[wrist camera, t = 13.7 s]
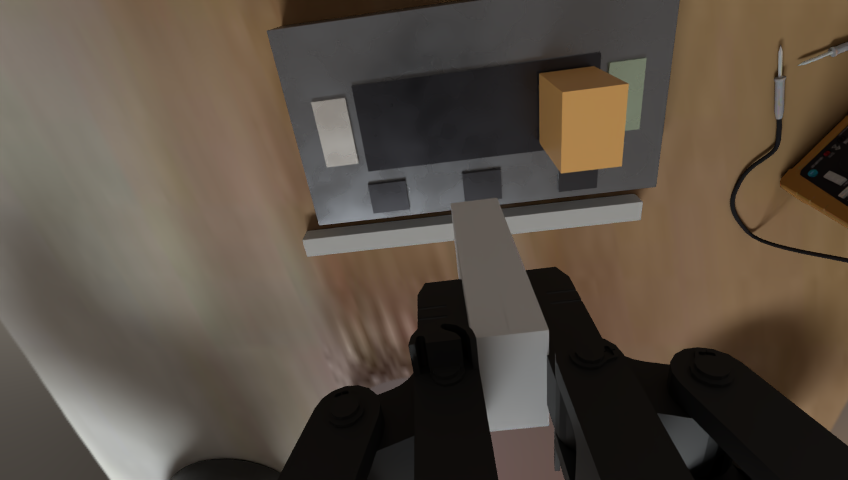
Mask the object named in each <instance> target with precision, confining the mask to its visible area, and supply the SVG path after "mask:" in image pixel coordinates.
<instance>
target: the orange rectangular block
mask: <svg viewBox="0 0 848 480" xmlns="http://www.w3.org/2000/svg"><path fill="white" fill-rule="evenodd" d="M628 88H629V84H628V83H626V82H624V81H622V80H620V79H618V78H617V77H615V76H613V75H611V74H609V73H607V72H605V71H603V70H601V69H599V68H597V67H595V66H591V67H583V68H576V69H568V70H561V71H553V72H546V73H539V142H540V144H541V146H542V147H543V149H544V150H545V152H546V153H547V154H548V156H549V157H550V159H551V160H552V161H553V163H554V164H555V166H556V167H557V169H558V170H559V171H560V173H569V172H578V171H586V170H595V169H603V168H612V167H620V166H622V158H623V147H624V135H625V123H626V112H627V100H628Z"/></svg>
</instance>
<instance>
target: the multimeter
mask: <svg viewBox="0 0 848 480" xmlns="http://www.w3.org/2000/svg"><path fill="white" fill-rule="evenodd" d="M847 50H848V42H846V43H843V44H841V45H838V46H836V47H830V48H829V51H828V52H827V53H824V54H822V55H819V56H817V57H814V58H812V59H809V60H807V61H804V62H802V63H801V64H799V65H805V64H807V63H810V62H813V61H815V60H818V59H820V58H823V57H825V56H828V55H830V56H831V57H834V56H836V55H837V54H839V53H842V52H844V51H847ZM782 56H783V51H782V47H781V46H780V49H779V57H778V77H775V78H774V81H775V117H776V119H777V133H776V143H775V146H774V148H773V149H772V150H771V151H770V152H769V153H768V154H766V155H765V156H764V157H762V158H761V159H759V160H758V161H756V162H755V163H753V164H752V165H751V166H750V167H749V168H748V169H746V171H745V172H744V173H743V174H742V175H741V177H740V178H739V180H738V182H737V184H736V186H735V188H734V190H733V192H732V195H731V199H730V206H731V211H732V214H733V216H734V218H735V220H736V221H737V222H738V224H739V225H740V227H741V228H742V229H743V230H744V231H745V232H746V233H747V234H748V235H749V236H751V237H752V238H754V239H756V240H758V241H760V242H762V243H765V244H768V245H770V246H773V247H777V248H781V249H784V250H788V251H793V252H797V253H802V254H806V255H811V256H817V257H822V258H827V259H832V260H837V261H842V262H847V263H848V258H843V257H838V256H832V255H827V254H822V253H816V252H811V251H805V250H801V249H796V248H791V247H787V246H783V245H779V244H775V243H772V242H769V241H766V240H763V239H761V238H759V237H757V236H755V235H753V234H752V233H751V232H750V231H749V230H748V229H747V228H746V227H745V226H744V224H743V223H742V222H741V220H740V219H739V217H738V215H737V213H736V210H735V204H734V203H735V196H736V194H737V191H738V189H739V187H740V185H741V183H742V181H743V180H744V178H745V177H746V175H747V174H748V173H749V172H750V171H751V170H752V169H753V168H755V167H756V166H757V165H759V164H760V163H762V162H763V161H764V160H766V159H767V158H769V157H770V156H771V155H773V154H774V153H775V152H776V151H777V149H778V147H779V145H780V141H781V130H782V117H783V112H784V89H785V79H786V76H782ZM799 65H798V66H799ZM780 187H782V188H783V189H784V190H786V191H787V192H789V193H790V194H791V195H793V196H794V197H796V198H797V199H799V200H800V201H802V202H803V203H805V204H808V205H810V206H812V207H813V208H815V209H817V210H818V211H820V212H821V213H823V214H825V215H826V216H828V217H830V218H831V219H833V220H835V221H836V222H838V223H840V224H841V225H843V226H844V227H846V228H848V115H847V116H846V117H845V118H844V119H843V120H842V121H841V122H840V123H839V124H838V125H837V126H836V127H835V128H834V129H833V130H832V131H831V132H830V133H829V134H827V135H826V136H825V137H824V138H823V139H822V140H821V141H820V142H819V143H818V144H817V145H816V146H815V147H814V148H813V149H812V150H811V151H810V152H809V153H808V154H807V155H806V156H805V157H804V158H803V159H802V160H801V161H800V162H799V163H798V164H797V165H796V166H795V167H794V168H793V169H789V170H788V171H787V172H786V174H785V175H784V176H783V177H782V178H781V180H780Z"/></svg>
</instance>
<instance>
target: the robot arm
mask: <svg viewBox="0 0 848 480" xmlns="http://www.w3.org/2000/svg"><path fill="white" fill-rule="evenodd" d="M450 204H451V213H452V222H453V231H454V240H455V249H456V258H457V267H458V276H459V279H458V280H449V281H440V282H432V283H425V284H424V286H423V287H422V289H421V291H420V292H419V294H418V329H417V330H416V331H415V332H414V334H413V335H412V336H411V338H410V342H409V350H410V356H411V361H412V366H413V372H414V373H413V374H412V375H411V377H410V378H409V379H408V380H407V381H405V382H404V383H403V384H401V385H400V386H398V387H396V388H394V389H392V390H389V391H387V392H384V393H382V394H379V395H377V394H375V393H374V392H373V391H371V390H370V389H369V388H366V387H362V386H358V385H357V386H345V387H342V388H340V389H337V390H334V391H332V392H331V393H330V394H328V395H327V396H325V397H324V398H323V399H322V400H321V401H320V402H319V404H318V405H317V406H316V408H315V409H314V411H313V413H312V415H311V417H310V419H309V420H308V422H307V424H306V426H305V428H304V430H303V432H302V434H301V436H300V438H299V440H298V441H297V443H296V445H295V447H294V449H293V451H292V453H291V455H290V457H289V459H288V460H287V462H286V464H285V466H284V468H283V470H282V472H281V474H280V473H278V472H276V471H274V470H272V469H270V468H267V467H265V466H262V465H259V464H255V463H251V462H247V461H241V460H231V459H216V460H207V461H202V462H198V463H194V464H192V465H189V466H187V467H185V468H183V469H182V470H180V471H179V472H177V473H176V474H175V475H174V476H173V478H172V479H171V480H498V475H497V470H496V464H495V458H494V452H493V446H492V440H491V435H490V432H491V431H501V430H511V429H520V428H531V427H541V426H549V413H550V416H551V419H552V422H553V425H554V428H555V432H554V434H555V435H554V438H555V439H554V465H555V471H560V466H561V469H562V472H563V475H564V479H565V480H848V446H847V445H846V444H845V443H843V442H842V441H841V440H840V439H838V438H837V437H836V436H834V435H833V434H832V433H831V432H829V431H828V430H827V429H826V428H824V427H823V426H822V425H821V424H819V423H818V422H817V421H815V420H814V419H813V418H812V417H810V416H809V415H808V414H807V413H805V412H804V411H803V410H801V409H800V408H799V407H798V406H796V405H795V404H794V403H793V402H791V401H790V400H789V399H787V398H786V397H785V396H784V395H782V394H781V393H780V392H779V391H777V390H776V389H775V388H773V387H772V386H771V385H770V384H768V383H767V382H766V381H764V380H763V379H762V378H761V377H759V376H758V375H757V374H756V373H754V372H753V371H752V370H750V369H749V368H748V367H747V366H745V365H744V364H743V363H742V362H740V361H738V360H737V359H735V358H733V357H732V356H730V355H728V354H726V353H723V352H720V351H717V350H714V349H707V348H699V347H696V348H689V349H684V350H682V351H680V352H678V353H676V354H675V355H674V357H673V358H672V360H671V362H670V365H667V364H660V363H652V362H644V361H639V360H634V359H631V358H628V357H626V356H624V354H623V353H622V352H621V351H620V350H619V349H618V347H617V346H616V345H614V344H613V343H611V342H609V341H607V340H606V339H603V338H602V337H601V335H600V333H599V331H598V330H597V328H596V326H595V324H594V322H593V320H592V318H591V317H590V315H589V313H588V311H587V309H586V307H585V305H584V304H583V302H582V301H581V298H580V296H579V294H578V292H577V291H576V289H575V287H574V285H573V283H572V281H571V279H570V277H569V276H568V275H566V274H565V273H563V272H562V271H561V270H559V269H558V268H556V267H550V268H541V269H533V270H525V268H524V265H523V263H522V260H521V258H520V255H519V252H518V250H517V247H516V245H515V242H514V240H513V237H512V235H511V232H510V230H509V227H508V224H507V222H506V219H505V217H504V214H503V212H502V209H501V207H500V204H499V201H498V199H497V198H490V199H482V200H474V201H466V202H458V203H450Z"/></svg>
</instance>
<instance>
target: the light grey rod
mask: <svg viewBox="0 0 848 480" xmlns="http://www.w3.org/2000/svg"><path fill="white" fill-rule="evenodd" d="M642 204H643V202H642V201H641V200H640V199H639V198H638V196H637V195H636V194H627V195H619V196H610V197H601V198H592V199H583V200H575V201H566V202H557V203H548V204H540V205H531V206H522V207H513V208H505V209H502V212H503V214H504V217H505V219H506V222H507V224H508V227H509V230H510V232H511V234H517V233H526V232H535V231H545V230H554V229H563V228H572V227H581V226H590V225H599V224H608V223H617V222H626V221H635V220H641V213H642ZM445 241H454V231H453V222H452V215H443V216H434V217H426V218H417V219H408V220H399V221H391V222H382V223H373V224H364V225H355V226H347V227H338V228H329V229H320V230H312V231H307V232H306V234H305V236H304V238H303V244H304V247H305V250H306V254H307V257H309V256H318V255H327V254H336V253H345V252H354V251H363V250H372V249H381V248H391V247H400V246H409V245H418V244H427V243H436V242H445Z"/></svg>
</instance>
